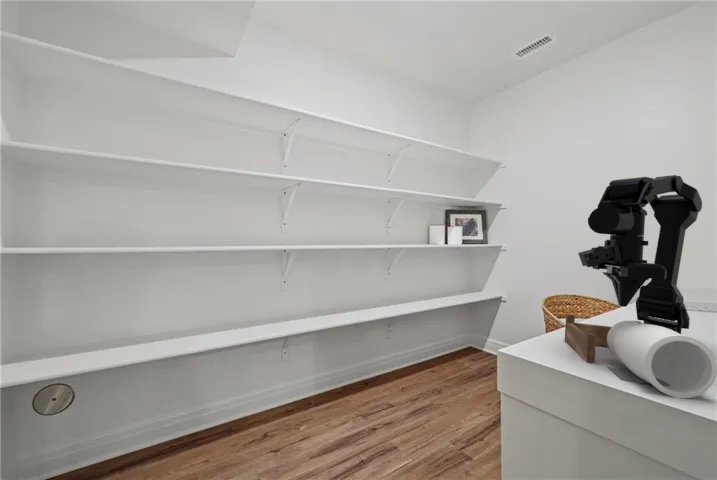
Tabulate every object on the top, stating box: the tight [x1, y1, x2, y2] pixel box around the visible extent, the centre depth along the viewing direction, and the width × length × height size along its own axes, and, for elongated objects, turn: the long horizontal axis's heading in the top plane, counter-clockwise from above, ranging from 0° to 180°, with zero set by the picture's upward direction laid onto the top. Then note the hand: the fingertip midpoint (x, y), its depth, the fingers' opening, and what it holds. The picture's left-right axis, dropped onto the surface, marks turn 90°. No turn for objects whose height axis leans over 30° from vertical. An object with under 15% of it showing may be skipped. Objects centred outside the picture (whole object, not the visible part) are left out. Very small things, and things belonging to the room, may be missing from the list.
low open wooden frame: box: [564, 313, 642, 364], centre depth 73 cm, size 16×15×7 cm
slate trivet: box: [607, 366, 670, 386], centre depth 62 cm, size 8×6×1 cm
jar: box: [607, 320, 717, 399], centre depth 61 cm, size 11×10×15 cm
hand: (622, 306), depth 71 cm, fingers closed
